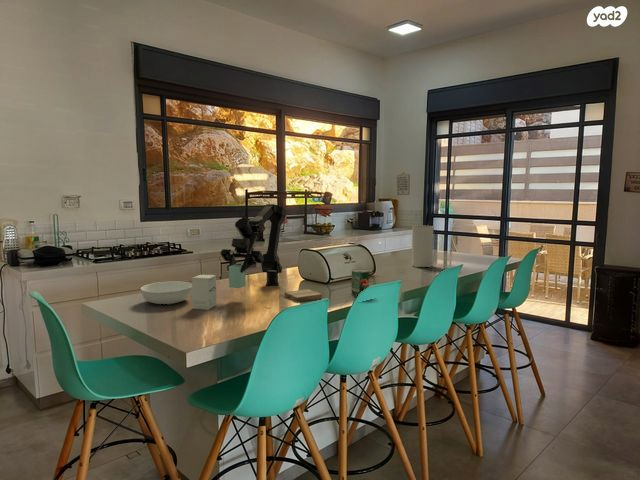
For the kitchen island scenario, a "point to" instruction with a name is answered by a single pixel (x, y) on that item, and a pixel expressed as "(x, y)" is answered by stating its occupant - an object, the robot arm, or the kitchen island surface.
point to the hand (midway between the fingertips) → (235, 271)
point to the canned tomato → (359, 280)
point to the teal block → (236, 277)
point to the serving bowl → (167, 292)
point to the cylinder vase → (422, 246)
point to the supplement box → (204, 292)
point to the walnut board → (303, 295)
